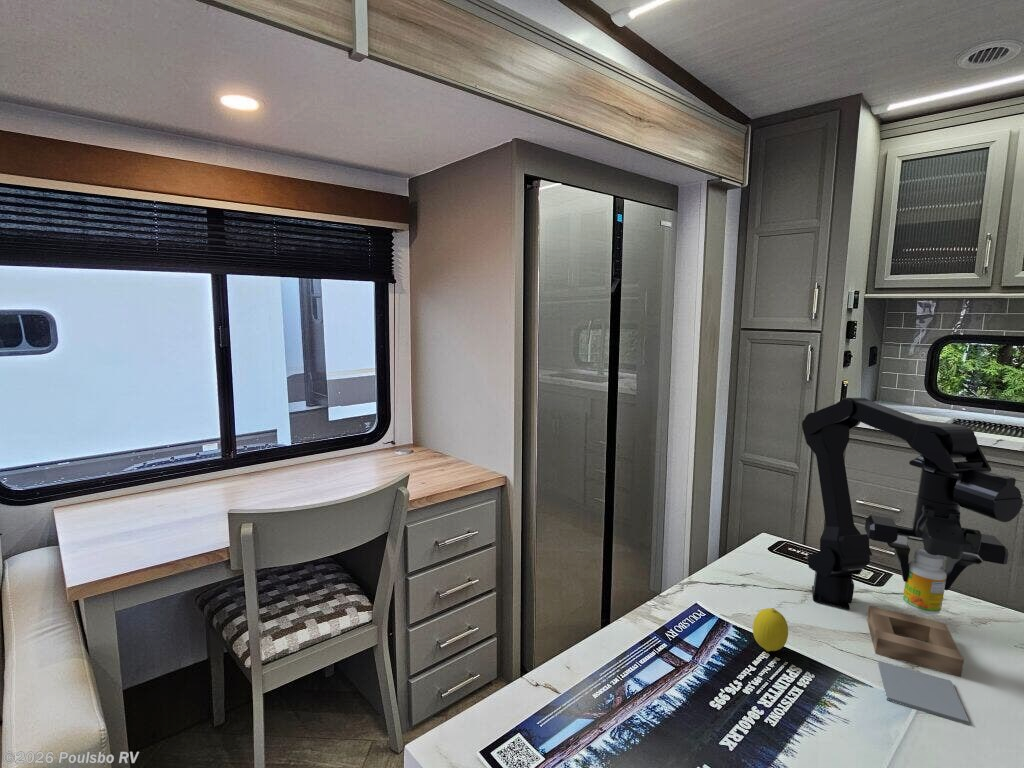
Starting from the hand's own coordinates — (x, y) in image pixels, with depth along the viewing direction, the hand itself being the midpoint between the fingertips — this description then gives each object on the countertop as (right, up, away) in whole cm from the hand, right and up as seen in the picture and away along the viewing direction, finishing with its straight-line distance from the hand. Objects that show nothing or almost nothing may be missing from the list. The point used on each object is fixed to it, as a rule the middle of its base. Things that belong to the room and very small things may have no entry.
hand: (924, 585), depth 94 cm
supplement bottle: (0, -4, +1) cm, 4 cm away
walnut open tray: (+1, -13, +4) cm, 13 cm away
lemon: (-27, -12, +1) cm, 29 cm away
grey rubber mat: (-6, -14, -7) cm, 17 cm away
